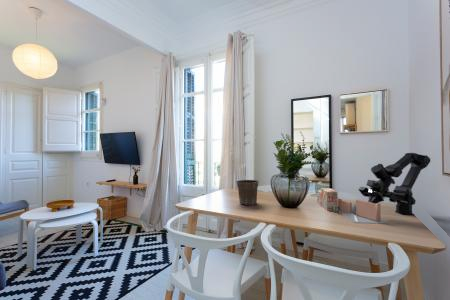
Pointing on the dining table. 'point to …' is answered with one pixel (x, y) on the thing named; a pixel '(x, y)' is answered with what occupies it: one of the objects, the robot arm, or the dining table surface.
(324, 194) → the stack of blocks
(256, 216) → the dining table surface
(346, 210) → the fixed fence section
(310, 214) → the dining table surface
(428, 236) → the dining table surface
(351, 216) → the board
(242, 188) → the plant pot
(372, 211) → the fence panel
